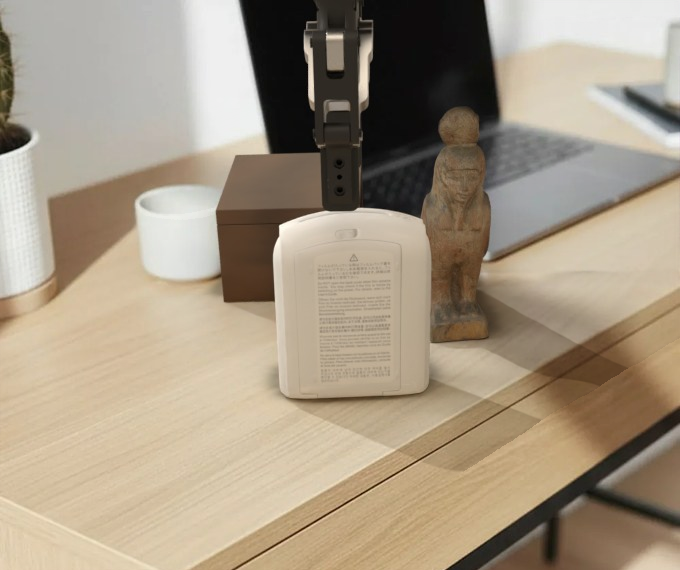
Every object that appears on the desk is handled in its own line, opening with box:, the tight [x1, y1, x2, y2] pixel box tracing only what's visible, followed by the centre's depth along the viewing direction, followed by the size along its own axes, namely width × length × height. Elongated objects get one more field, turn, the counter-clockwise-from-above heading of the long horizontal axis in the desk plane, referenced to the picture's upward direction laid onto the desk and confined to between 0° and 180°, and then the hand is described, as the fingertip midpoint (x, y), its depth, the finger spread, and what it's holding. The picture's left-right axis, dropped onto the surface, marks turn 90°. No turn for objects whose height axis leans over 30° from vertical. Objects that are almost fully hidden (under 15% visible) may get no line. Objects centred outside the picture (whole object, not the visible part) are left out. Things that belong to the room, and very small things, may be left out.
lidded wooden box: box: [215, 152, 364, 303], centre depth 100 cm, size 11×15×8 cm
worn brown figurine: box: [420, 105, 492, 343], centre depth 88 cm, size 12×6×18 cm, turn 2°
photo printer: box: [273, 207, 431, 399], centre depth 79 cm, size 10×4×12 cm, turn 93°
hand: (343, 187), depth 75 cm, fingers open, 8 cm apart
